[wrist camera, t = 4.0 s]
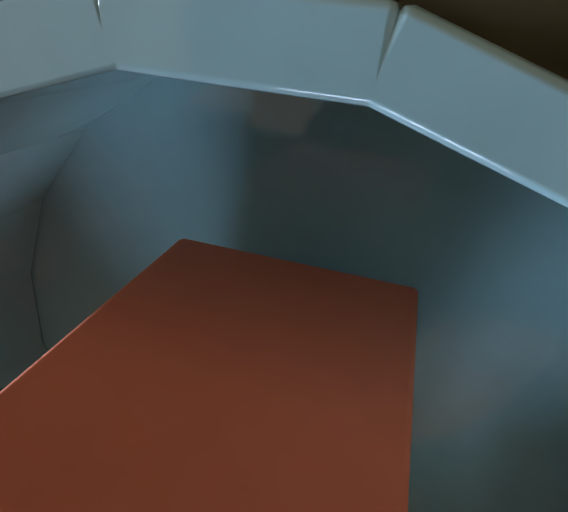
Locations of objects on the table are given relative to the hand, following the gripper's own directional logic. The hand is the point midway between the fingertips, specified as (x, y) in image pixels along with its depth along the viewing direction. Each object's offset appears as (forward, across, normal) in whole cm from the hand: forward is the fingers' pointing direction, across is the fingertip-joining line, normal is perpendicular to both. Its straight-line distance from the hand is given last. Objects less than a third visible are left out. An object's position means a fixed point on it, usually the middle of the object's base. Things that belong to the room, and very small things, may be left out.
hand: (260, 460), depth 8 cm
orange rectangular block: (+1, 0, 0) cm, 1 cm away
